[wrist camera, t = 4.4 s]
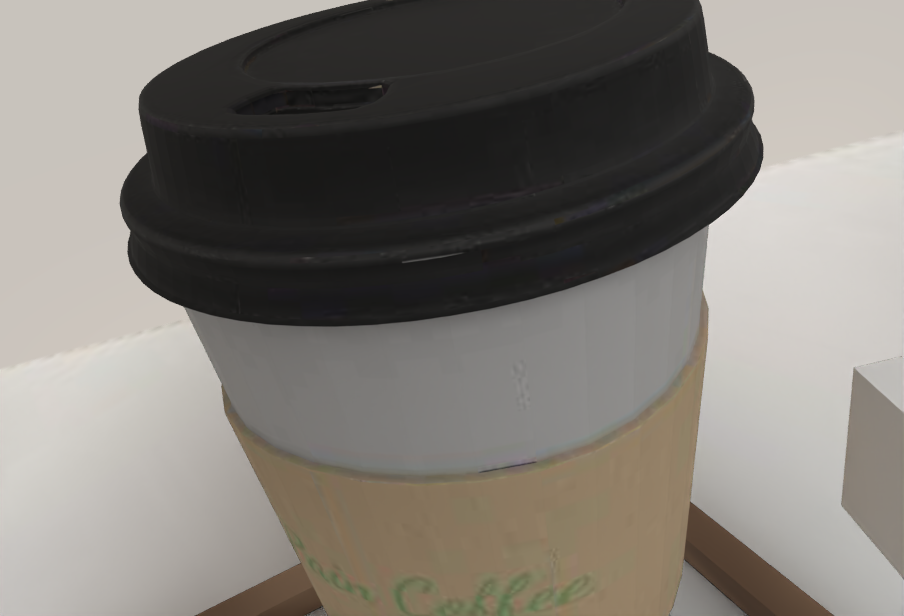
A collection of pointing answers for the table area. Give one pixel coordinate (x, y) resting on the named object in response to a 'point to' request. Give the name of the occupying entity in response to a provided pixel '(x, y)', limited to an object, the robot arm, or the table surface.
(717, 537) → the wooden frame
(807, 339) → the table surface
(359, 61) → the coffee cup
